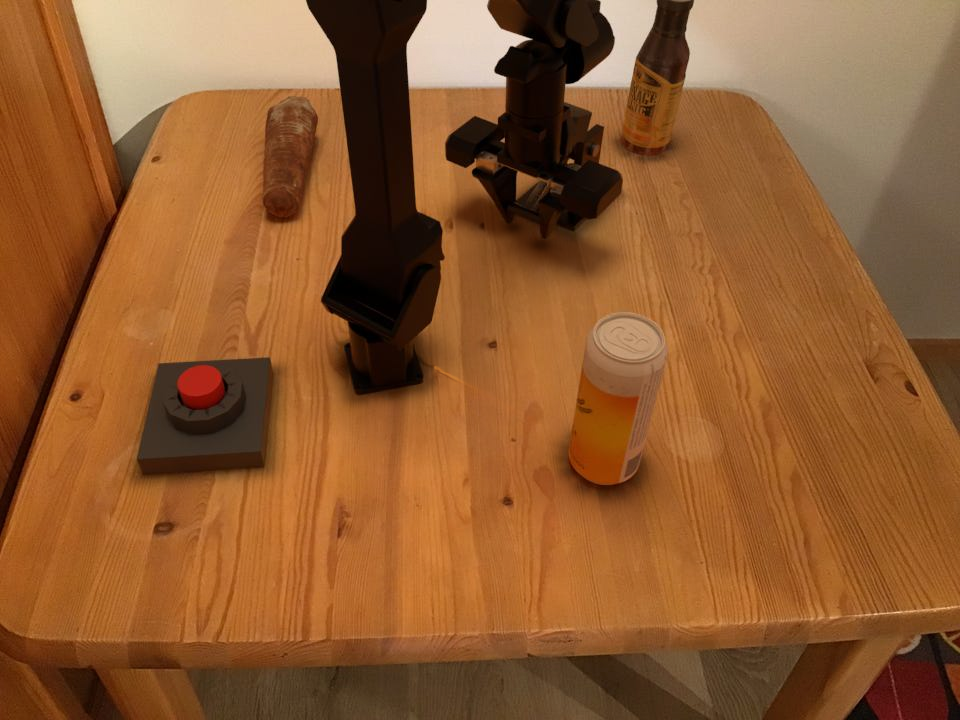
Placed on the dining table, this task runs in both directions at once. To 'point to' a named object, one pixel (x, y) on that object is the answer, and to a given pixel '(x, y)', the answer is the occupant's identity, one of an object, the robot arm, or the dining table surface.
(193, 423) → the button box
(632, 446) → the beer can
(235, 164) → the dining table surface
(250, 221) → the dining table surface
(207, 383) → the button
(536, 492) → the dining table surface
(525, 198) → the bracket
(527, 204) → the lever
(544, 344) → the dining table surface
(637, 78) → the sauce bottle
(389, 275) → the robot arm
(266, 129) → the brown tapered cylinder
